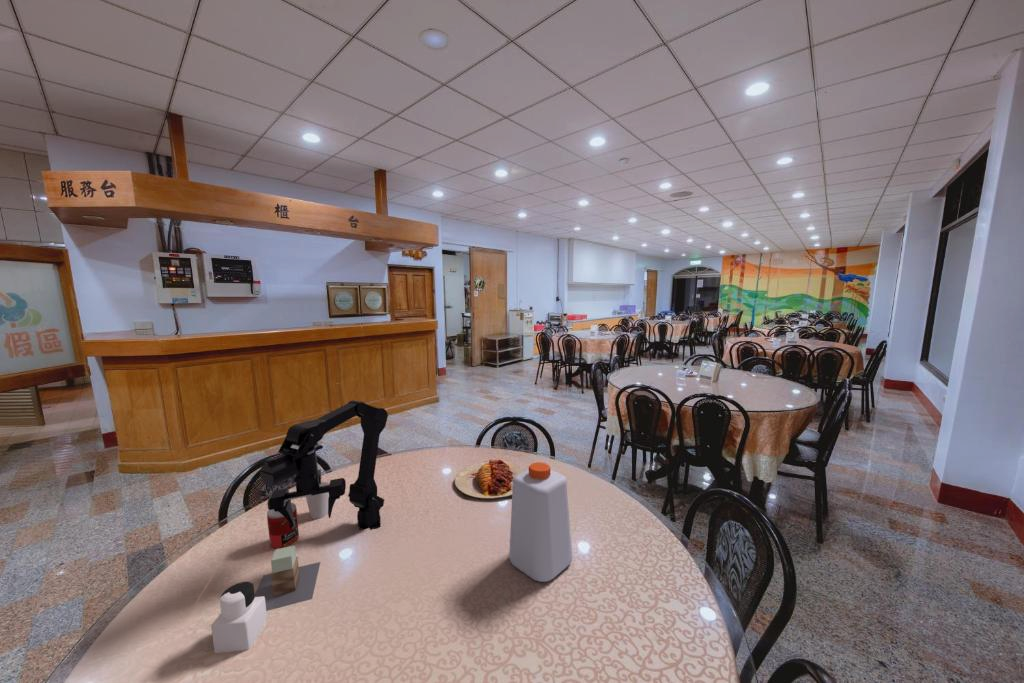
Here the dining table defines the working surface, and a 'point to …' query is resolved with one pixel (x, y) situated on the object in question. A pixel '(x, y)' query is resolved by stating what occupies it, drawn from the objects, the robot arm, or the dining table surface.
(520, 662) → the dining table surface
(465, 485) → the plate of pasta
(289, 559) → the sage block
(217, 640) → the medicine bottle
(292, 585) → the tower base
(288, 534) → the canned food
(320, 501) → the dixie cup
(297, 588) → the plate
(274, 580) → the tower top
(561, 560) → the plastic bottle
